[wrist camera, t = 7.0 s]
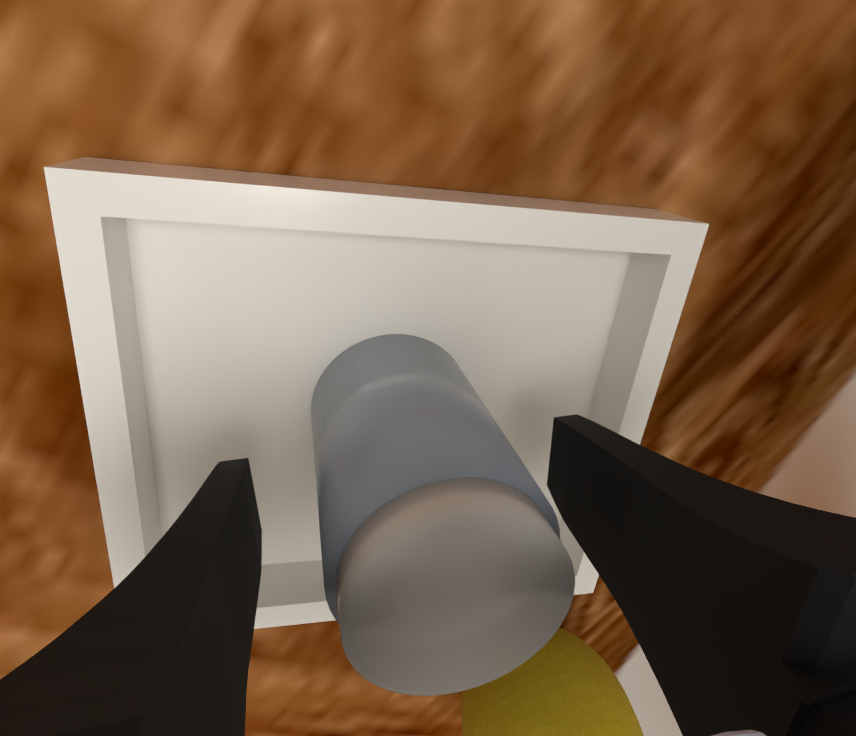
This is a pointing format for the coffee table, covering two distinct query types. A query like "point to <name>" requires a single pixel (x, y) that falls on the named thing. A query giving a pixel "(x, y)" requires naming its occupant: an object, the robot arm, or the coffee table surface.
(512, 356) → the tray
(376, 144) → the coffee table surface
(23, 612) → the coffee table surface
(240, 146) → the coffee table surface
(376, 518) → the cylinder
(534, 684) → the lemon
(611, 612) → the coffee table surface
